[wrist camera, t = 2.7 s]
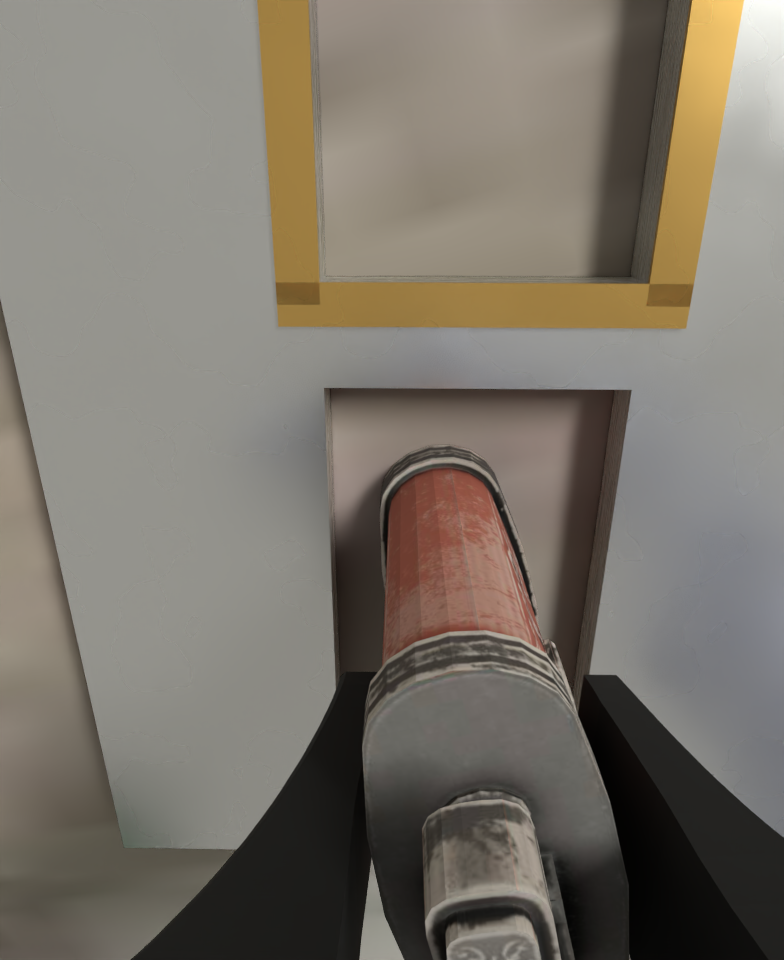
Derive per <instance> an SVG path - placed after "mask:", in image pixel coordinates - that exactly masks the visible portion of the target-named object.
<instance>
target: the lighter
mask: <svg viewBox="0 0 784 960" xmlns="http://www.w3.org/2000/svg"><path fill="white" fill-rule="evenodd" d="M380 534H381V563H382V577H383V583H384V588H385V611H384V634H383V656H382V667H381V669H380V670H379V671H378V673H377V674H376V675H375V677H374V678H373V679H372V680H371V682H370V686H369V691H368V695H367V700H366V704H365V717H364V730H363V744H362V752H363V771H364V789H365V807H366V826H367V838H368V843H369V847H370V852H371V856H372V860H373V865H374V869H375V874H376V878H377V883H378V887H379V892H380V896H381V901H382V905H383V910H384V914H385V917H386V920H387V922H388V924H389V926H390V929H391V931H392V933H393V935H394V938H395V940H396V942H397V944H398V946H399V949H400V951H401V953H402V955H403V958H404V960H629V884H628V880H627V875H626V871H625V866H624V862H623V857H622V853H621V848H620V844H619V840H618V835H617V831H616V826H615V822H614V817H613V813H612V808H611V804H610V800H609V797H608V794H607V792H606V789H605V786H604V783H603V780H602V777H601V774H600V771H599V768H598V765H597V762H596V759H595V757H594V754H593V752H592V749H591V747H590V744H589V742H588V739H587V737H586V734H585V732H584V729H583V727H582V725H581V722H580V720H579V717H578V715H577V711H576V706H575V702H574V698H573V695H572V692H571V689H570V686H569V683H568V681H567V678H566V675H565V672H564V669H563V666H562V663H561V660H560V657H559V654H558V651H557V648H556V645H555V644H554V643H553V642H552V641H550V640H549V639H545V640H542V637H541V634H540V631H539V622H538V608H537V603H536V599H535V595H534V591H533V587H532V583H531V579H530V575H529V571H528V566H527V562H526V558H525V554H524V550H523V546H522V544H521V541H520V538H519V535H518V532H517V529H516V527H515V524H514V521H513V519H512V516H511V514H510V511H509V509H508V506H507V504H506V501H505V499H504V496H503V494H502V491H501V489H500V486H499V484H498V481H497V479H496V476H495V474H494V472H493V470H492V469H491V467H490V466H489V465H488V463H487V462H486V460H485V459H483V458H482V457H480V456H479V455H477V454H476V453H474V452H473V451H471V450H469V449H465V448H461V447H457V446H453V445H437V446H428V447H425V448H422V449H419V450H416V451H413V452H410V453H409V454H407V455H406V456H405V457H403V458H402V459H401V460H399V461H398V462H396V463H395V464H394V465H393V467H392V468H391V470H390V471H389V472H388V474H387V475H386V477H385V478H384V482H383V487H382V492H381V501H380Z"/></svg>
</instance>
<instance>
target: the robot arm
mask: <svg viewBox="0 0 784 960" xmlns="http://www.w3.org/2000/svg"><path fill="white" fill-rule="evenodd" d="M377 673H378V672H345V673H344V674H343V675H342V676H341V677H340V680H339V683H338V686H337V688H336V691H335V693H334V696H333V698H332V701H331V703H330V705H329V707H328V709H327V711H326V713H325V715H324V717H323V720H322V722H321V724H320V726H319V727H318V729H317V731H316V733H315V735H314V736H313V738H312V740H311V742H310V744H309V745H308V747H307V749H306V751H305V753H304V754H303V756H302V758H301V759H300V761H299V763H298V764H297V766H296V767H295V769H294V771H293V772H292V774H291V775H290V777H289V778H288V780H287V781H286V783H285V785H284V786H283V788H282V789H281V791H280V792H279V794H278V795H277V797H276V798H275V800H274V801H273V803H272V804H271V805H270V807H269V808H268V810H267V811H266V812H265V814H264V815H263V817H262V818H261V819H260V821H259V822H258V823H257V825H256V826H255V827H254V828H253V830H252V831H251V832H250V834H249V835H248V836H247V838H246V839H245V840H244V841H243V843H242V844H241V845H240V846H239V847H238V849H237V850H236V851H235V852H234V853H233V855H232V856H231V857H230V858H229V859H228V861H227V862H226V863H225V864H224V865H223V866H222V868H221V869H220V870H219V871H218V872H217V874H216V875H215V876H214V877H213V878H212V879H211V880H210V881H209V882H208V884H207V885H206V886H205V887H204V888H203V889H202V890H201V891H200V892H199V893H198V894H197V895H196V896H195V897H194V898H193V900H192V901H191V902H190V903H189V904H188V905H187V906H186V907H185V908H184V909H183V910H182V911H181V912H180V913H179V914H178V915H177V916H176V917H175V918H174V919H173V920H172V921H171V922H170V923H169V924H168V925H167V926H166V927H165V928H164V929H163V930H162V931H161V932H160V933H159V934H158V935H157V936H156V937H155V938H154V939H153V940H152V941H151V942H150V943H149V944H148V945H147V946H145V947H144V948H143V949H142V950H141V951H140V952H139V953H138V954H137V955H135V956H134V957H133V958H132V959H131V960H359V956H360V945H361V935H362V927H363V919H364V912H365V904H366V896H367V888H368V881H369V873H370V865H371V857H372V856H371V852H370V847H369V843H368V838H367V826H366V807H365V789H364V771H363V752H362V744H363V730H364V717H365V704H366V700H367V695H368V691H369V686H370V682H371V680H372V679H373V678H374V677H375V675H376V674H377ZM578 717H579V720H580V722H581V725H582V727H583V729H584V732H585V734H586V737H587V739H588V742H589V744H590V747H591V749H592V752H593V754H594V757H595V759H596V762H597V765H598V768H599V771H600V774H601V777H602V780H603V783H604V786H605V789H606V792H607V794H608V797H609V800H610V804H611V808H612V813H613V817H614V822H615V826H616V831H617V835H618V840H619V844H620V848H621V853H622V857H623V862H624V866H625V871H626V875H627V880H628V884H629V954H630V958H631V960H784V837H782V836H781V835H780V834H779V833H777V832H776V831H775V830H774V829H773V828H771V827H770V826H769V825H768V824H766V823H765V822H764V821H763V820H762V819H760V818H759V817H758V816H757V815H756V814H755V813H753V812H752V811H751V810H750V809H749V808H748V807H747V806H745V805H744V804H743V803H742V802H741V801H740V800H739V799H738V798H737V797H736V796H734V795H733V794H732V793H731V792H730V791H729V790H728V789H727V788H726V787H725V786H723V785H722V784H721V783H720V782H719V781H718V780H717V779H716V778H715V777H714V776H713V775H712V774H711V773H710V772H709V771H708V770H706V769H705V768H704V767H703V766H702V765H701V764H700V763H699V762H698V761H697V759H696V758H695V757H694V756H693V755H692V754H691V753H690V752H689V751H688V750H687V749H686V748H685V747H684V746H683V745H682V744H681V743H680V742H679V741H678V740H677V739H676V738H675V737H674V736H673V735H672V734H671V733H670V732H669V731H668V730H667V729H666V728H665V727H664V726H663V724H662V723H661V722H660V721H659V720H658V719H657V718H656V717H655V716H654V715H653V714H652V713H651V712H650V711H649V709H648V708H647V707H646V706H645V705H644V704H643V703H642V702H641V701H640V700H639V699H638V697H637V696H636V695H635V694H634V693H633V692H632V691H631V690H630V689H629V688H628V687H627V686H626V684H625V683H624V682H623V681H622V680H621V679H620V678H619V677H618V676H617V675H583V682H582V689H581V696H580V703H579V710H578Z"/></svg>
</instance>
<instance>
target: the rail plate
mask: <svg viewBox="0 0 784 960" xmlns="http://www.w3.org/2000/svg"><path fill="white" fill-rule="evenodd" d="M0 300H1V305H2V309H3V313H4V318H5V322H6V327H7V331H8V336H9V340H10V344H11V349H12V353H13V358H14V362H15V367H16V371H17V375H18V380H19V384H20V389H21V393H22V398H23V402H24V407H25V411H26V415H27V420H28V424H29V429H30V433H31V438H32V442H33V446H34V451H35V455H36V460H37V464H38V469H39V473H40V478H41V482H42V486H43V491H44V495H45V500H46V504H47V509H48V513H49V517H50V522H51V526H52V531H53V535H54V540H55V544H56V548H57V553H58V557H59V562H60V566H61V571H62V575H63V580H64V584H65V588H66V593H67V597H68V602H69V606H70V611H71V615H72V619H73V624H74V628H75V633H76V637H77V642H78V646H79V650H80V655H81V659H82V664H83V668H84V673H85V677H86V682H87V686H88V690H89V695H90V699H91V704H92V708H93V713H94V717H95V721H96V726H97V730H98V735H99V739H100V744H101V748H102V753H103V757H104V761H105V766H106V770H107V775H108V779H109V784H110V788H111V792H112V797H113V801H114V806H115V810H116V815H117V819H118V823H119V828H120V832H121V837H122V841H123V846H124V848H177V849H238V847H239V846H240V845H241V844H242V843H243V841H244V840H245V839H246V838H247V836H248V835H249V834H250V832H251V831H252V830H253V828H254V827H255V826H256V825H257V823H258V822H259V821H260V819H261V818H262V817H263V815H264V814H265V812H266V811H267V810H268V808H269V807H270V805H271V804H272V803H273V801H274V800H275V798H276V797H277V795H278V794H279V792H280V791H281V789H282V788H283V786H284V785H285V783H286V781H287V780H288V778H289V777H290V775H291V774H292V772H293V771H294V769H295V767H296V766H297V764H298V763H299V761H300V759H301V758H302V756H303V754H304V753H305V751H306V749H307V747H308V745H309V744H310V742H311V740H312V738H313V736H314V735H315V733H316V731H317V729H318V727H319V726H320V724H321V722H322V720H323V717H324V715H325V713H326V711H327V709H328V707H329V705H330V703H331V701H332V698H333V696H334V693H335V691H336V688H337V686H338V683H339V680H340V662H339V634H338V606H337V578H336V550H335V522H334V494H333V466H332V439H331V411H330V388H428V389H588V390H615V391H614V399H613V406H612V413H611V420H610V427H609V435H608V442H607V449H606V456H605V463H604V471H603V478H602V485H601V492H600V499H599V507H598V514H597V521H596V528H595V535H594V543H593V550H592V557H591V564H590V571H589V578H588V586H587V593H586V600H585V607H584V614H583V622H582V629H581V636H580V643H579V650H578V658H577V665H576V672H575V679H574V686H573V694H572V695H573V698H574V702H575V706H576V711H577V715H578V710H579V703H580V696H581V689H582V682H583V675H617V676H618V677H619V678H620V679H621V680H622V681H623V682H624V683H625V684H626V686H627V687H628V688H629V689H630V690H631V691H632V692H633V693H634V694H635V695H636V696H637V697H638V699H639V700H640V701H641V702H642V703H643V704H644V705H645V706H646V707H647V708H648V709H649V711H650V712H651V713H652V714H653V715H654V716H655V717H656V718H657V719H658V720H659V721H660V722H661V723H662V724H663V726H664V727H665V728H666V729H667V730H668V731H669V732H670V733H671V734H672V735H673V736H674V737H675V738H676V739H677V740H678V741H679V742H680V743H681V744H682V745H683V746H684V747H685V748H686V749H687V750H688V751H689V752H690V753H691V754H692V755H693V756H694V757H695V758H696V759H697V761H698V762H699V763H700V764H701V765H702V766H703V767H704V768H705V769H706V770H708V771H709V772H710V773H711V774H712V775H713V776H714V777H715V778H716V779H717V780H718V781H719V782H720V783H721V784H722V785H723V786H725V787H726V788H727V789H728V790H729V791H730V792H731V793H732V794H733V795H734V796H736V797H737V798H738V799H739V800H740V801H741V802H742V803H743V804H744V805H745V806H747V807H748V808H749V809H750V810H751V811H752V812H753V813H755V814H756V815H757V816H758V817H759V818H760V819H762V820H763V821H764V822H765V823H766V824H768V825H769V826H770V827H771V828H773V829H774V830H775V831H776V832H777V833H779V834H780V835H781V836H782V837H784V0H669V3H668V10H667V17H666V25H665V32H664V39H663V46H662V53H661V61H660V68H659V75H658V82H657V89H656V97H655V104H654V111H653V118H652V125H651V133H650V140H649V147H648V154H647V161H646V168H645V176H644V183H643V190H642V197H641V204H640V212H639V219H638V226H637V233H636V240H635V248H634V255H633V262H632V269H631V276H630V277H465V276H326V271H325V243H324V215H323V187H322V159H321V132H320V104H319V76H318V48H317V20H316V0H0Z"/></svg>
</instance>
